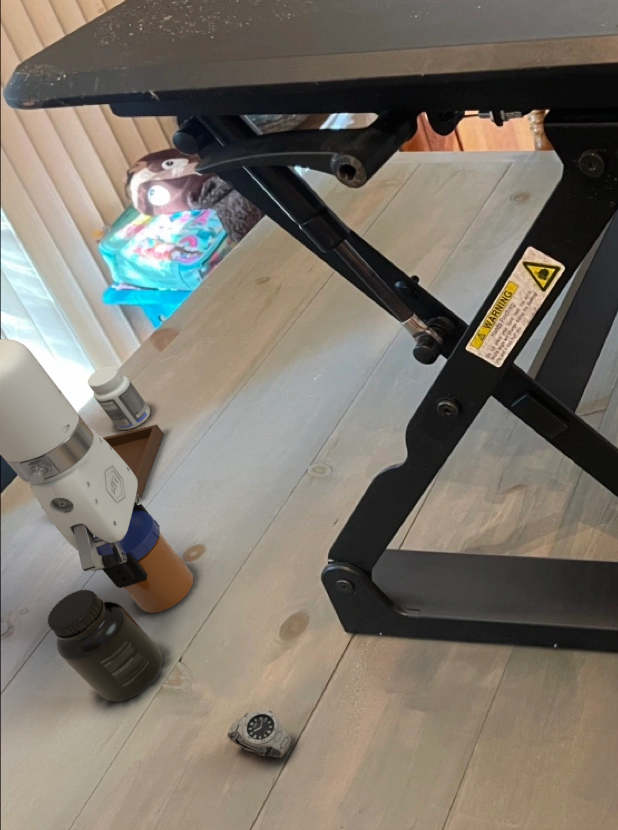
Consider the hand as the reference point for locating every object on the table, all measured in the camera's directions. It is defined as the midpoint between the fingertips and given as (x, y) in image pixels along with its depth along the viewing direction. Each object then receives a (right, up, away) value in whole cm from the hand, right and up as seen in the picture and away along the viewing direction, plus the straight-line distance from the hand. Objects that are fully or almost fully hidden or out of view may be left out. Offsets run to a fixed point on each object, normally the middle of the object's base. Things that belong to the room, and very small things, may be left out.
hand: (138, 556), depth 119 cm
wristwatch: (+21, -15, -14) cm, 30 cm away
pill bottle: (-17, +12, +30) cm, 37 cm away
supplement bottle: (+2, -12, -5) cm, 13 cm away
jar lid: (-1, +3, -2) cm, 3 cm away
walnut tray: (-15, +5, +22) cm, 27 cm away
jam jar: (+1, -5, +4) cm, 6 cm away
